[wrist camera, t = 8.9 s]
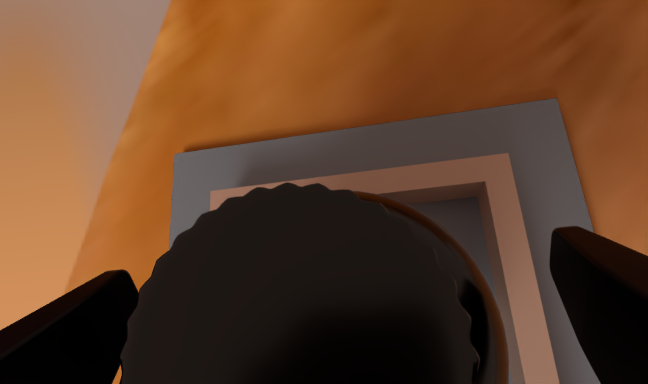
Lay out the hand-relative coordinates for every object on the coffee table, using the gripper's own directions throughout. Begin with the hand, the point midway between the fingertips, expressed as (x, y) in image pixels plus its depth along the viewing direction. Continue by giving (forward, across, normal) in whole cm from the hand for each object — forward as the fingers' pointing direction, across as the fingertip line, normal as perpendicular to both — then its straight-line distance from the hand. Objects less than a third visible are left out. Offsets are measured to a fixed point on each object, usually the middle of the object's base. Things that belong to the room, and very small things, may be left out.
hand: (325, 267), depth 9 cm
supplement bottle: (+5, 0, +7) cm, 9 cm away
